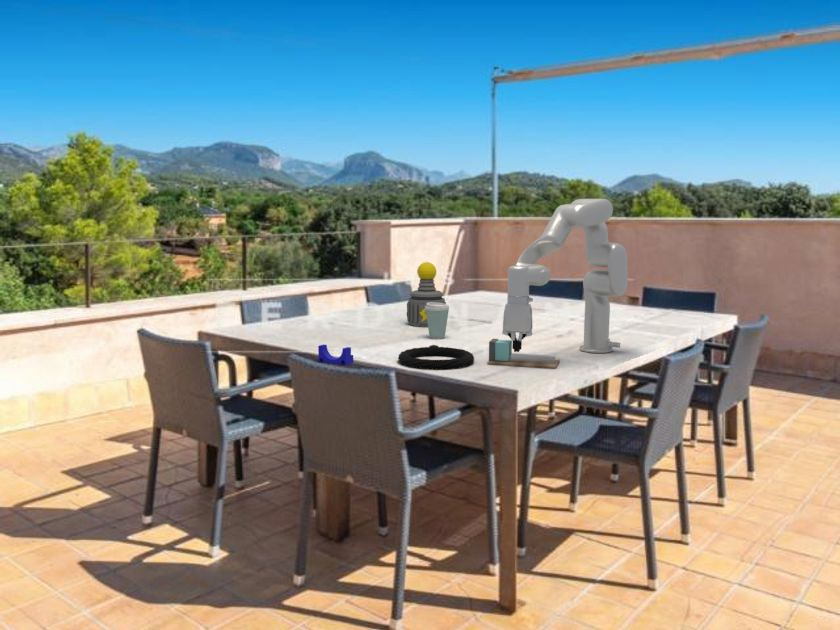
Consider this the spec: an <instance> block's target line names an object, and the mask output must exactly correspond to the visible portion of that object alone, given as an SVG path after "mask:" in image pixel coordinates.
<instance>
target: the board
mask: <svg viewBox="0 0 840 630" xmlns="http://www.w3.org/2000/svg"><path fill="white" fill-rule="evenodd" d="M486 364H487V365H490V366H503V367H504V366H505V367H517V368H518V367H519V368H533V369H550V370H556V369H557V367H558V366H559V364H560V360H558V359H555V364H547V363H532V362H516V361H498V360H495V361H489V360H488V361H487V363H486Z"/></svg>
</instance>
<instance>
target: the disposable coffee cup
mask: <svg viewBox="0 0 840 630" xmlns="http://www.w3.org/2000/svg"><path fill="white" fill-rule="evenodd" d="M425 309H426V315H427V322H428V327H427V329H428V335H429V338H430V339H433V340H442V339H444V338H445V337H446V332H447V324H448V318H449V317H448V316H449V311H450V307H449V304H447V303H446V304H443V303H436V302H429V303H426V306H425Z"/></svg>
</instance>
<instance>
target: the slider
mask: <svg viewBox="0 0 840 630" xmlns="http://www.w3.org/2000/svg"><path fill="white" fill-rule="evenodd" d="M512 347H513V341H512V339H510V340H509V339H508V340H507V339H498V340H497V341H496V342H495V360H498V361H509V354H510V353H513V351H512V350H513V348H512Z"/></svg>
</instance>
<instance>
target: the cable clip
mask: <svg viewBox="0 0 840 630" xmlns="http://www.w3.org/2000/svg"><path fill="white" fill-rule="evenodd" d="M317 348H318V349H317V350H318V351H317V352H318V354H317V355H318V362H319V363H326V364H333V365H334V364H335V365H341V366H347V365H352V364H353V363H354V355H353V354H352V347H349V346H348V347H347V346H346V347H343V348H342V352H341V354H340V356H339V357H334V356H332V354H331V353H330V352H329V350H328V345H327V344H324V343H323V344H320V345H318V347H317Z"/></svg>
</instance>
